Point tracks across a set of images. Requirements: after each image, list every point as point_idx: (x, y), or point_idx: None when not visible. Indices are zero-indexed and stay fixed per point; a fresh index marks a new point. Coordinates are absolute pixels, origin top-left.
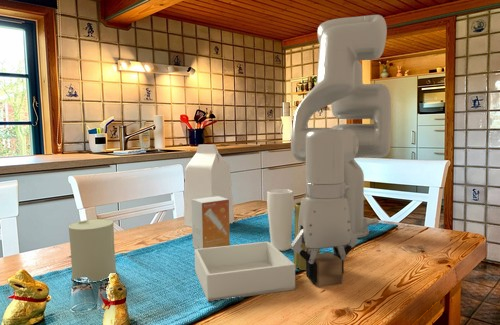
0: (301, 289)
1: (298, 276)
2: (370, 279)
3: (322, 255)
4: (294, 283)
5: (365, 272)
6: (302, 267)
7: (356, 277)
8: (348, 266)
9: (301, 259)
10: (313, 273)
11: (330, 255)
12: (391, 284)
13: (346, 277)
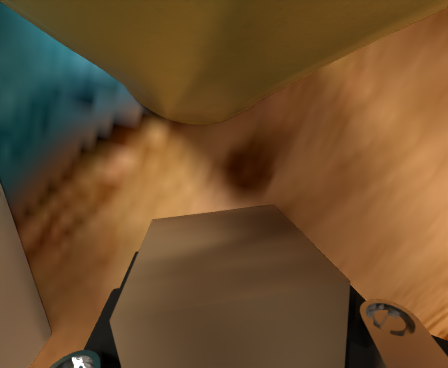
0: (83, 333)
1: (100, 189)
2: (403, 279)
3: (240, 354)
4: (29, 361)
5: (435, 207)
6: (142, 102)
7: (367, 252)
8: (416, 112)
9: (123, 83)
10: None
11: (306, 360)
12: (436, 327)
13: (328, 245)
